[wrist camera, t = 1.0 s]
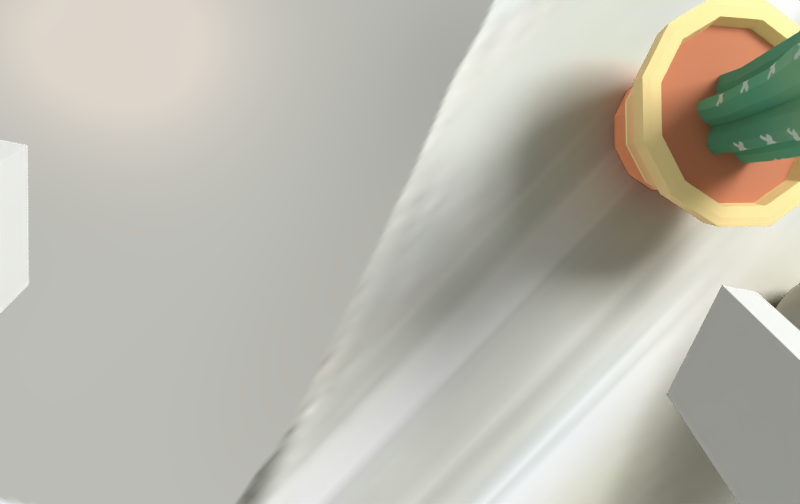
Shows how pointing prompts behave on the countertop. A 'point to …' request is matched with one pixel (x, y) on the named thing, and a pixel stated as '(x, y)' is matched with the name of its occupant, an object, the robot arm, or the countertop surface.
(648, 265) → the countertop surface
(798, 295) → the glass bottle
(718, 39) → the potted cactus
